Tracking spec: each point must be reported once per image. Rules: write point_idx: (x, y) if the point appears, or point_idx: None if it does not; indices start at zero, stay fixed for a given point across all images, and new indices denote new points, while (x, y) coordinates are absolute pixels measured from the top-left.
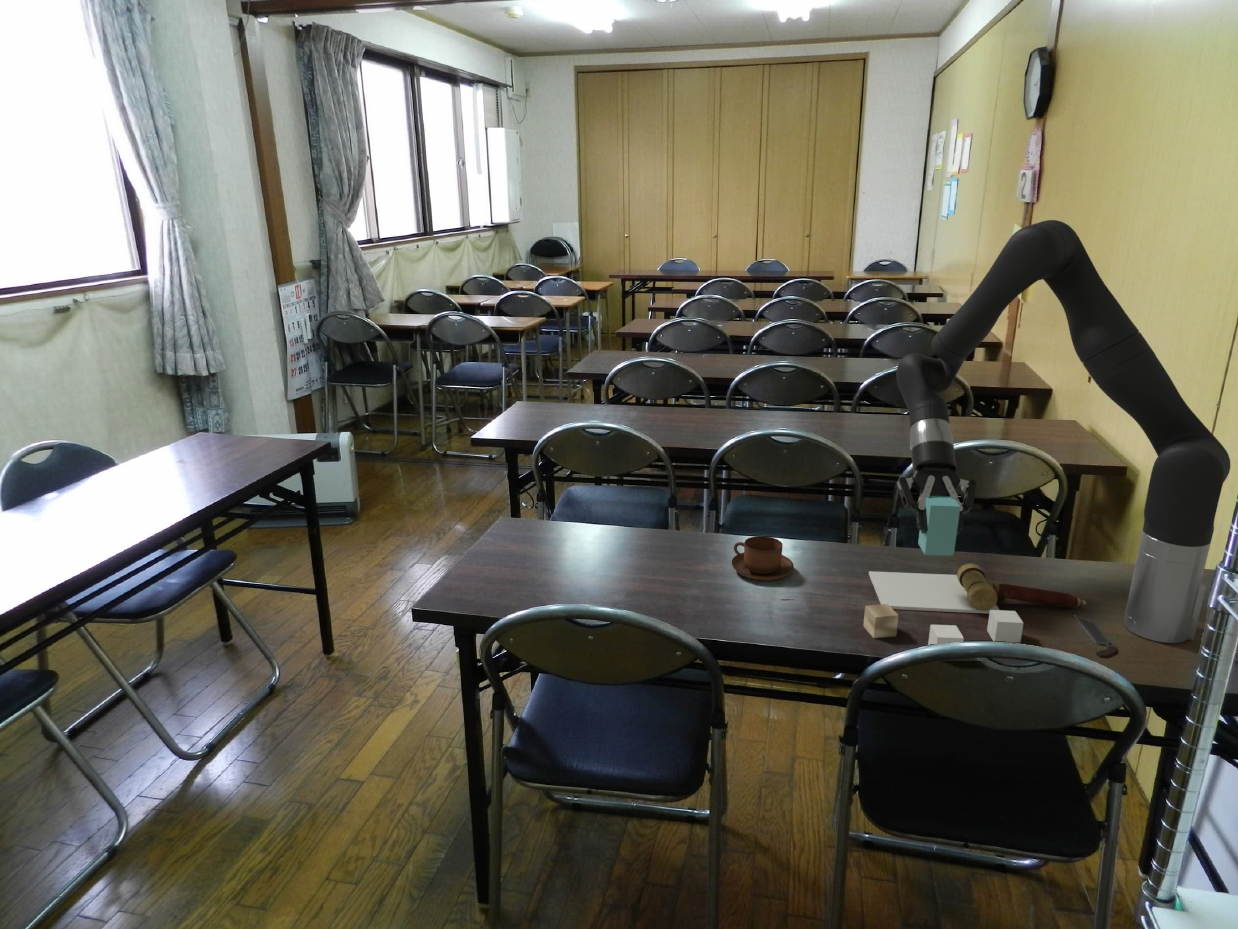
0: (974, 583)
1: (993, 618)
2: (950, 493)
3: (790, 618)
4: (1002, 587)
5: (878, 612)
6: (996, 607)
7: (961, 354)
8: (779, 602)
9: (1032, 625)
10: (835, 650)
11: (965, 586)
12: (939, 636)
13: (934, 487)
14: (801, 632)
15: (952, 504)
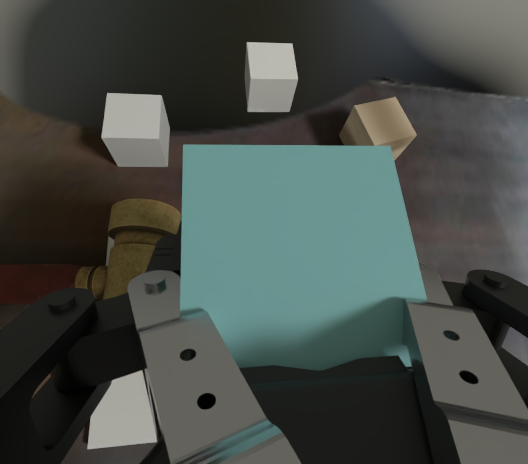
0: (153, 246)
1: (161, 119)
2: (212, 344)
3: (515, 174)
4: (70, 269)
5: (391, 112)
6: (111, 247)
7: None
8: None
9: (59, 194)
10: (429, 91)
11: None
12: (288, 45)
13: (391, 434)
14: (487, 133)
15: (233, 178)
